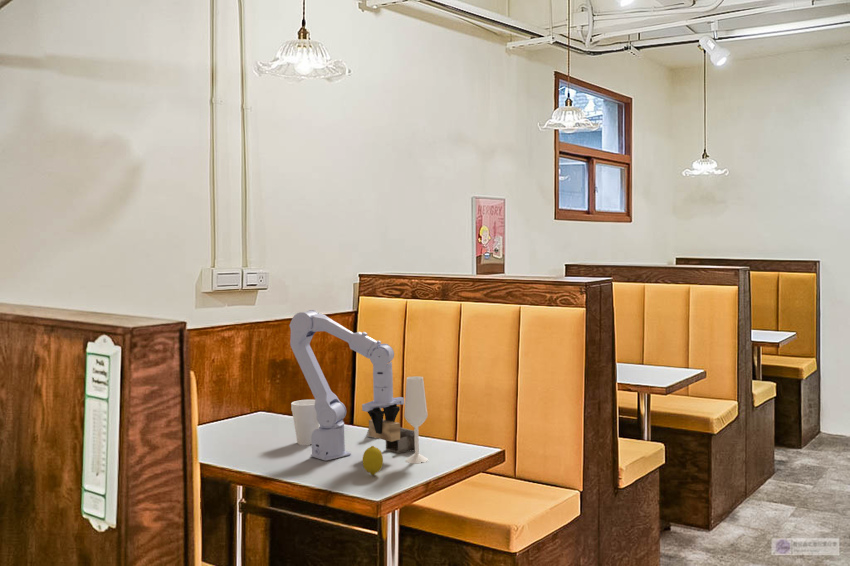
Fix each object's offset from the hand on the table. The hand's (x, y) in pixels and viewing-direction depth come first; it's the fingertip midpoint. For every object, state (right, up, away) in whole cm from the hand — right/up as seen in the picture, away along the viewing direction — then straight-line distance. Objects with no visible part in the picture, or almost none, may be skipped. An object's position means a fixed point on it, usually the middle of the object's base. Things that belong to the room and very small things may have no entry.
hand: (384, 431), depth 229 cm
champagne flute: (+10, -8, -4) cm, 13 cm away
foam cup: (-26, -8, +21) cm, 34 cm away
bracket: (+4, -7, +8) cm, 11 cm away
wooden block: (0, -2, 0) cm, 2 cm away
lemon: (-2, -9, -18) cm, 20 cm away
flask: (-4, -7, +28) cm, 29 cm away
